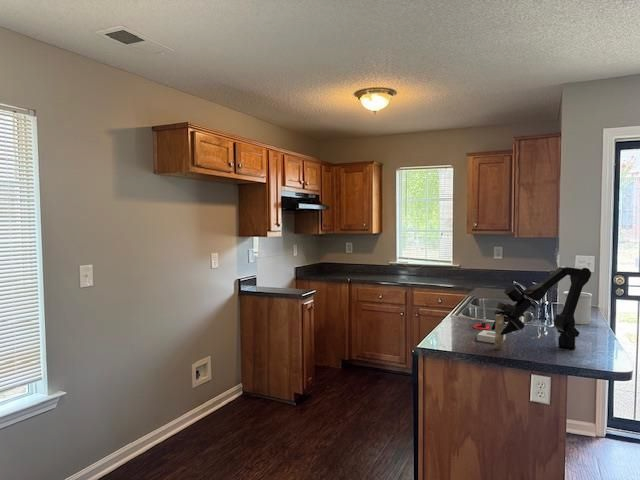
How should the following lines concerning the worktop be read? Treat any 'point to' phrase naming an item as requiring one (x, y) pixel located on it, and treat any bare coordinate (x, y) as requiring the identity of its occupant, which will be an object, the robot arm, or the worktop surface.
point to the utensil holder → (582, 308)
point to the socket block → (488, 336)
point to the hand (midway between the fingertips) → (496, 331)
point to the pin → (499, 332)
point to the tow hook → (482, 322)
